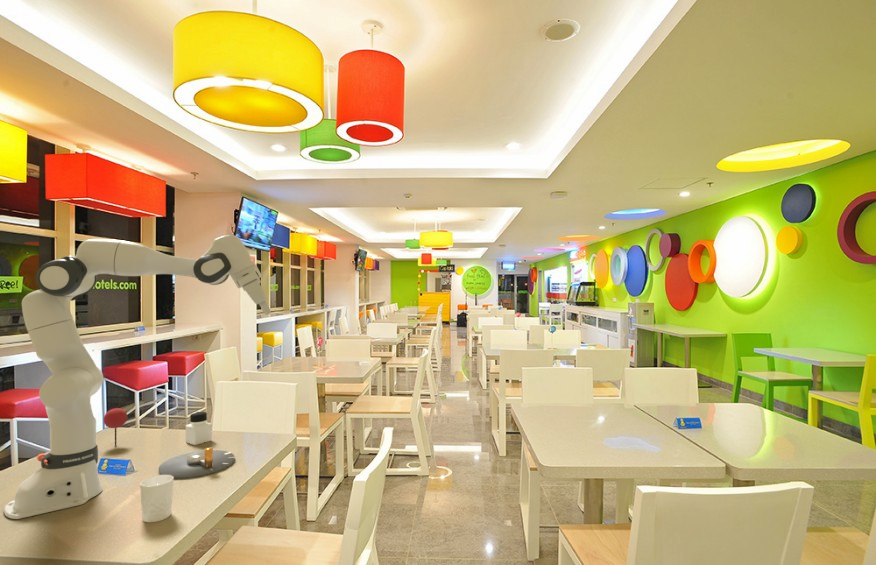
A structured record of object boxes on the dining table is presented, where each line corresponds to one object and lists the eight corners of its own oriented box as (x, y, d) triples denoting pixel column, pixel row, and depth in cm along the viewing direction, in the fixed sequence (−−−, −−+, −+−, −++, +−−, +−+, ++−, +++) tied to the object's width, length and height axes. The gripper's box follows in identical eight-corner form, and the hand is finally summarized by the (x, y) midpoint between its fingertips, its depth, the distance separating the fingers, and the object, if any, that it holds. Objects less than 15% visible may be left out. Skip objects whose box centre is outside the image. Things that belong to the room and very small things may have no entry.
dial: (183, 461, 166) (183, 443, 166) (203, 456, 171) (203, 438, 171) (199, 471, 157) (199, 452, 157) (220, 465, 162) (220, 446, 162)
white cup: (149, 526, 123) (149, 488, 123) (134, 519, 127) (134, 482, 128) (179, 514, 130) (179, 478, 130) (164, 507, 134) (164, 472, 134)
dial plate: (174, 485, 149) (174, 480, 150) (148, 466, 165) (148, 462, 165) (246, 463, 168) (246, 459, 168) (217, 448, 183) (217, 445, 183)
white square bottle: (211, 440, 194) (211, 411, 194) (195, 445, 188) (195, 415, 188) (201, 437, 197) (201, 409, 198) (185, 442, 191) (185, 413, 192)
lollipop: (131, 443, 190) (131, 406, 191) (114, 449, 183) (114, 411, 183) (116, 442, 192) (116, 405, 192) (98, 448, 185) (99, 410, 185)
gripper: (240, 283, 169) (260, 316, 171) (237, 282, 150) (259, 319, 152) (257, 274, 171) (276, 307, 173) (256, 272, 152) (277, 309, 154)
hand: (268, 313), depth 162 cm, fingers open, 8 cm apart
